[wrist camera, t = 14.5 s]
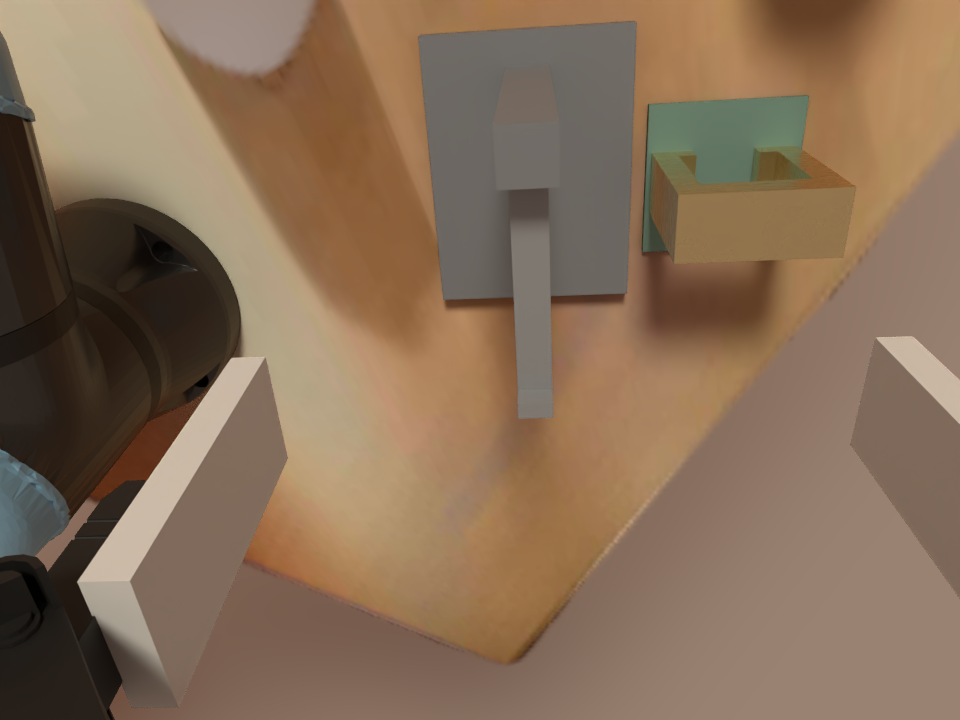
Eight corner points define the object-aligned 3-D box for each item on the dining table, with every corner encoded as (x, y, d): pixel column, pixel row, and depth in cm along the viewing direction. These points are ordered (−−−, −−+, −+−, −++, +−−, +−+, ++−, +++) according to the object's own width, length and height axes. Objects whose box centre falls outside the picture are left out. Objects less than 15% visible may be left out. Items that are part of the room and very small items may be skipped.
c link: (648, 211, 45) (673, 263, 38) (651, 152, 44) (678, 195, 36) (787, 205, 45) (843, 257, 37) (796, 145, 43) (856, 187, 35)
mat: (641, 249, 47) (642, 251, 47) (648, 104, 43) (649, 105, 42) (785, 244, 46) (787, 246, 46) (806, 95, 42) (809, 96, 42)
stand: (445, 292, 49) (405, 448, 34) (420, 34, 42) (355, 80, 26) (625, 286, 48) (671, 443, 33) (633, 20, 41) (699, 59, 25)
